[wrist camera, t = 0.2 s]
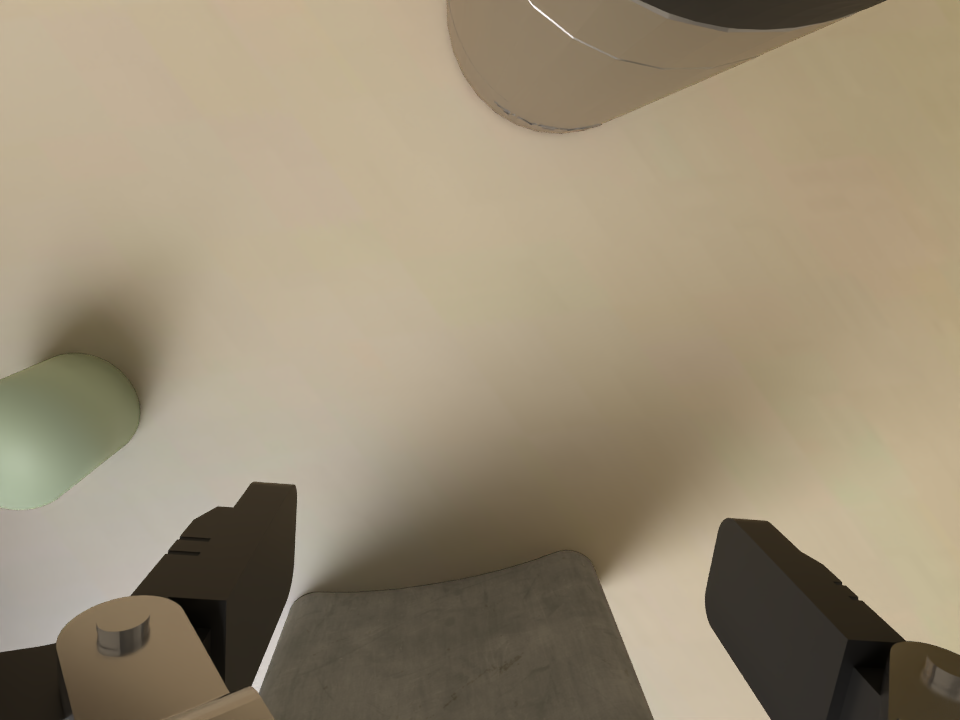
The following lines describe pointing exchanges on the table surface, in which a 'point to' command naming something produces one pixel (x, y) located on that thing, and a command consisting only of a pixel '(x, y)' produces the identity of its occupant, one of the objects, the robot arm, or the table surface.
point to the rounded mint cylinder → (60, 426)
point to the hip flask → (459, 651)
